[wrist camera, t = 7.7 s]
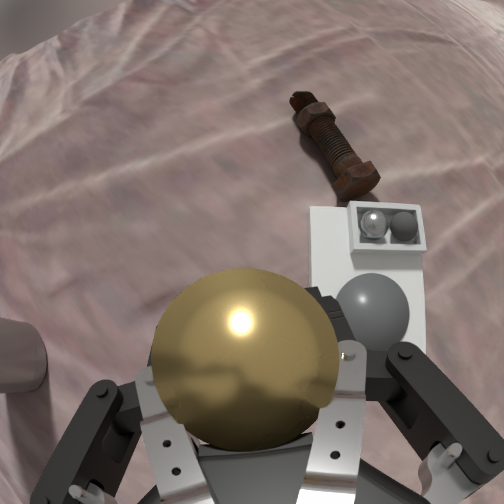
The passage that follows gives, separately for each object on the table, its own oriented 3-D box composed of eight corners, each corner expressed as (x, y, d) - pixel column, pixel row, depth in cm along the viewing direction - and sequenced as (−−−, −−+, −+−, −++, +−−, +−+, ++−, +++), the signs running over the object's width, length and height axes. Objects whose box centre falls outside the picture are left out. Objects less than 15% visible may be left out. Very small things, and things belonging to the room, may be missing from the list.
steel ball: (356, 244, 30) (364, 234, 27) (354, 216, 31) (362, 204, 28) (384, 244, 30) (394, 235, 27) (381, 217, 31) (390, 205, 28)
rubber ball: (387, 244, 30) (398, 235, 27) (384, 217, 31) (394, 206, 28) (412, 245, 30) (424, 236, 27) (409, 219, 31) (420, 207, 28)
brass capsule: (211, 390, 17) (150, 439, 7) (215, 306, 18) (158, 265, 9) (298, 394, 16) (333, 450, 7) (300, 309, 18) (339, 270, 8)
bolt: (303, 114, 40) (358, 202, 35) (273, 110, 37) (330, 204, 33) (324, 83, 35) (390, 172, 31) (295, 76, 33) (363, 171, 28)
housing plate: (308, 366, 29) (312, 369, 26) (307, 213, 34) (311, 199, 30) (417, 359, 28) (432, 360, 25) (408, 217, 33) (420, 205, 29)
